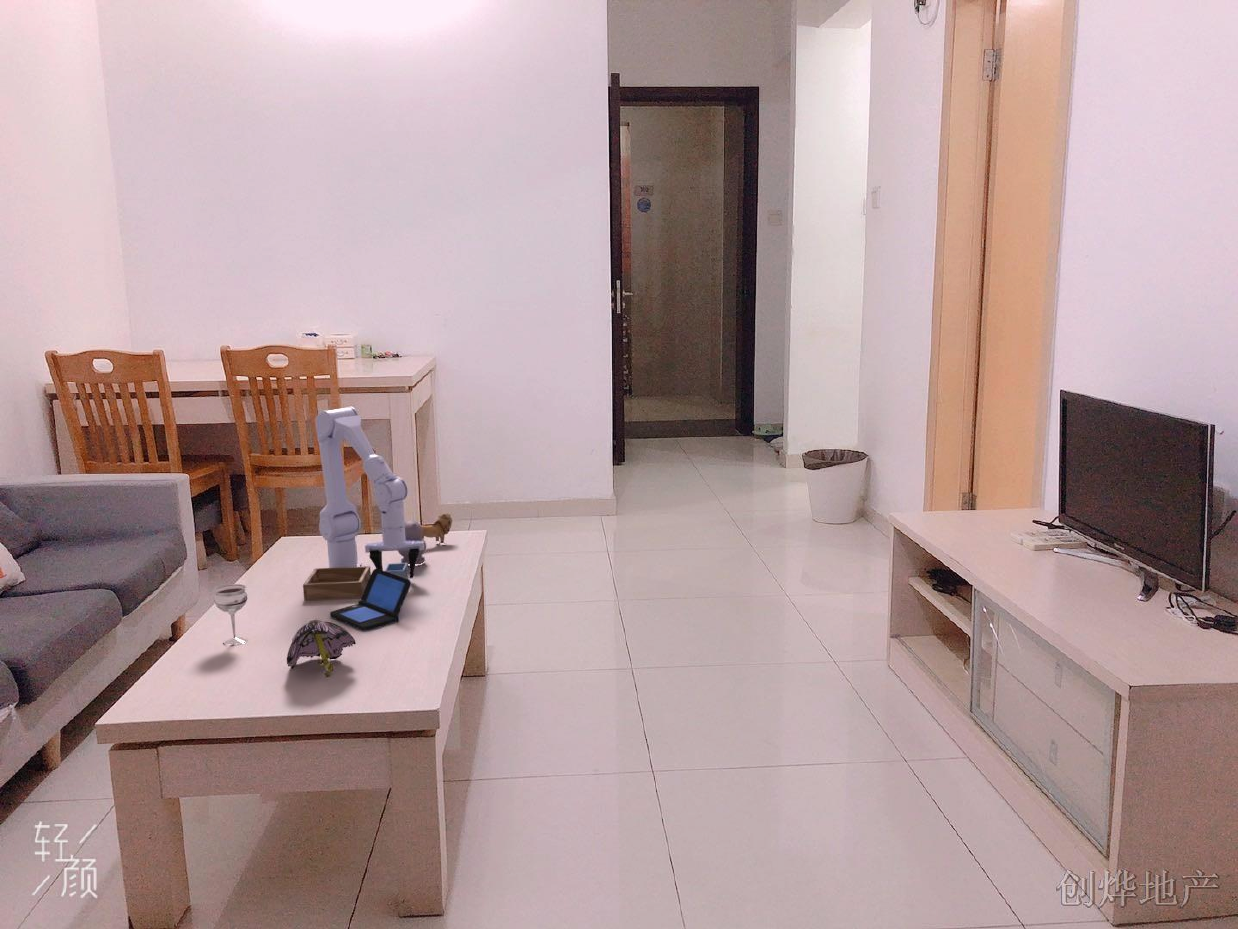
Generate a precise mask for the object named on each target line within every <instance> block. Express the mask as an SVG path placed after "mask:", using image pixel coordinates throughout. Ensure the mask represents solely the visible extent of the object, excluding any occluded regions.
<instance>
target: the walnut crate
mask: <svg viewBox="0 0 1238 929" xmlns="http://www.w3.org/2000/svg"><path fill="white" fill-rule="evenodd" d="M371 574H372V571H371V566H370V565H368V566H367V565H366V566H364V565H363V566H360V567H340V568H329V567H323V568H320V567H319V568H318V567H317V568H314V569H313V570H312V572H311V573H310V575H309V576H308V577H307V579H306V580H305V582H304V583H303V584H302V588H303V601H323V600H324V601H326V600H346V599H361V597H362V595H363V593H364V590H365V588H366V586H367V583H368V581H369V579H370V576H371Z"/></svg>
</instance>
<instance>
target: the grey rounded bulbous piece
mask: <svg viewBox="0 0 1238 929" xmlns="http://www.w3.org/2000/svg"><path fill="white" fill-rule="evenodd" d="M404 522H405V538H406V541H424V549H423V550H420V551H419V554H418V557H417V560H416V563H415V564H421V563H423V562H424V561H425V562H426V558H425V556H423V555H424V553H425V552H426V551H427V549H426V548H427V543H426V541H425V540H423V539H422V538H421V537H422V534H423V529H422V526H421V524H420V523H419V522H417V521H415V520H414V518H411V520H406V521H404ZM409 551H410V550H400V551H397V552H398V554H399V555H400V556H401V557H402V558H401V559H400V563H407V564H409V556H408V553H409Z"/></svg>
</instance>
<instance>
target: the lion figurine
mask: <svg viewBox="0 0 1238 929" xmlns="http://www.w3.org/2000/svg"><path fill="white" fill-rule="evenodd" d="M452 523H453V518H452V515H451V514H449V513H446V512H443V513H441V514H440V515H439V516H438V519H436V521H435V522H434V523H432V524H431V525H421V524H420V525H421V526H422V529H423V534H422V537H421V538H422V539H423V540H424V539H425V537H426V538H428V539H429V538H431V539H432V538H435V542H436V541H439V542H440V543H444V544H445V535H448V534H449V532H450V530H451V528H452ZM424 541H425V540H424Z"/></svg>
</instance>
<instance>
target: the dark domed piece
mask: <svg viewBox="0 0 1238 929" xmlns="http://www.w3.org/2000/svg"><path fill="white" fill-rule="evenodd" d="M291 640H292V641H291V644H290V646H289V648H288V650H287V651H288V652H287V655H286V665H287V667H288V668H289V667H290V668H291V669H292V670H294V667H295V665H296V664H297V663H298V662H299V661H298V660H299V659H300V658H305V657H306V658H311V659H312V658H313V657H319V659H318V660H317V663H318V665H323V666H325V669H326V671H325V672H324V675H326V676H325V677H328V676H327V675H330V676H331V672H332V671H333V670H334V664H333V663H330V661H329V660H331V659H335V660H337V659H338V658H340V657H341V656H342V655H343V654H342V653H343V652H342V651H343V650H344V649H345V648H346V647H353V645H356V644H357V643H356V640H355V638H354V637H353V636H352V635H351V633H349V631H347V630H346V629H345V628H344V627H342V626H340V625H339V624H337V623H334V622H330V621H321V620H319V619H313V620H310V621H309V622H308V623H306V624H305V625H303V626H301V627H300V628H299V629H298V630H297V632H296V633H295V634H294V636H293V638H292V639H291ZM343 648H344V649H343ZM320 657H321V658H320Z"/></svg>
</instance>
